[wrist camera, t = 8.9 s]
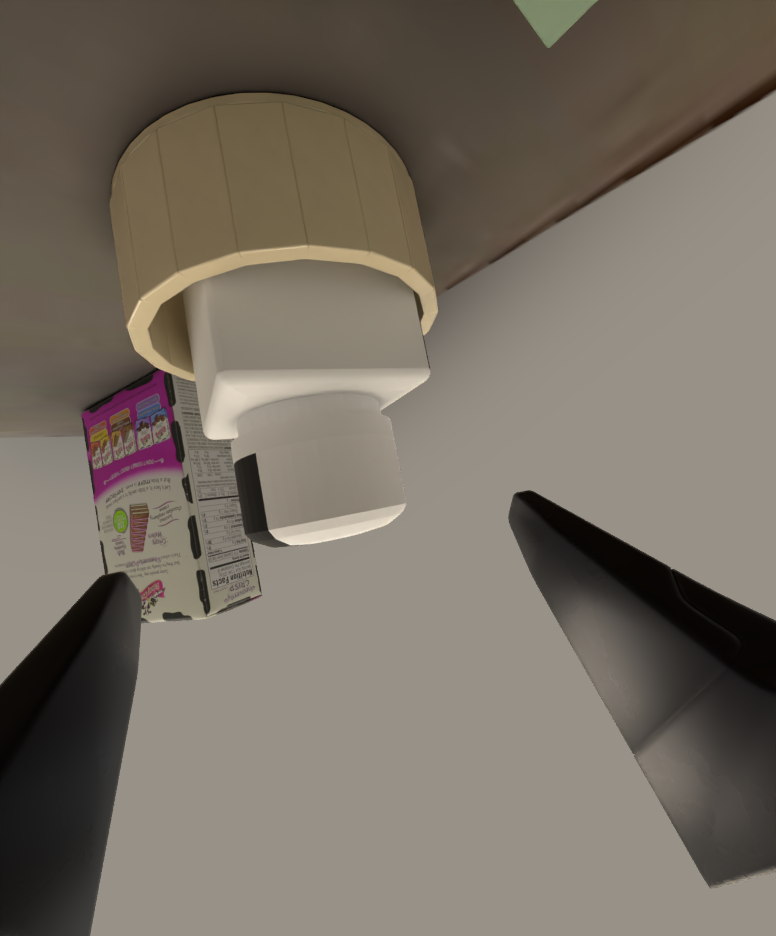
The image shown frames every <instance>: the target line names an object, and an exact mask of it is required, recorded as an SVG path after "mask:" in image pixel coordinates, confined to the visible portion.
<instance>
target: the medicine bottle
mask: <svg viewBox="0 0 776 936" xmlns="http://www.w3.org/2000/svg"><path fill="white" fill-rule="evenodd" d="M182 297H183V303H184V310H185V316H186V323H187V329H188V336H189V343H190V349H191V356H192V362H193V369H194V375H195V382H196V388H197V395H198V401H199V408H200V414H201V421H202V427H203V432H204V434H205V436H206V437H207V438H209V439H212V440H220V439H233V438H235V439H234V440H233V441H232V442H231V451H232V458H233V464H234V470H235V477H236V483H237V489H238V495H239V502H240V508H241V514H242V521H243V527H244V533H245V535H246V536H247V537H248V538H249V539H250V540H252V541H253V542H255V543H259V544H263V545H266V546H270V547H286V546H298V545H307V544H314V543H319V542H325V541H330V540H334V539H339V538H344V537H348V536H352V535H357V534H360V533H363V532H366V531H369V530H373V529H376V528H379V527H382V526H385V525H387V524H388V523H390V522H391V521H392V520H394V519H395V518H396V517H397V516H399V515H400V514H401V513H402V512H403V510H404V508H405V506H406V504H407V502H406V497H405V492H404V486H403V481H402V476H401V471H400V466H399V460H398V455H397V450H396V446H395V440H394V435H393V430H392V425H391V420H390V418H389V417H387V416H385V415H381V410H382V409H384V408H385V407H387V406H388V405H390V404H391V403H393V402H394V401H396V400H397V399H399V398H400V397H402V396H404V395H405V394H406V393H408V392H409V391H411V390H413V389H414V388H416V387H417V386H419V385H420V384H422V383H423V382H425V381H426V380H427V379H428V377H429V376H430V366H429V361H428V356H427V352H426V346H425V342H424V337H423V332H422V327H421V322H420V317H419V312H418V308H417V303H416V298H415V293H414V290H413V289H412V288H410V287H409V286H408V285H407V284H406V283H405V282H403V281H402V280H401V279H400V278H399V277H397V276H394V275H391V274H388V273H385V272H382V271H379V270H377V269H374V268H371V267H368V266H365V265H362V264H354V263H343V262H332V261H321V260H310V259H302V260H293V261H283V262H274V263H265V264H255V265H247V266H244V267H241V268H238V269H234V270H231V271H228V272H225V273H222V274H219V275H216V276H213V277H210V278H206V279H203V280H200V281H197V282H194V283H193V284H191V285H190V286H188V287H187V288H185V289H184V290H182Z"/></svg>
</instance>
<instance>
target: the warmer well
mask: <svg viewBox="0 0 776 936" xmlns="http://www.w3.org/2000/svg"><path fill="white" fill-rule="evenodd" d="M110 214H111V221H112V228H113V235H114V242H115V249H116V257H117V264H118V271H119V278H120V285H121V292H122V300H123V307H124V314H125V321H126V327H127V330H128V333H129V336H130V339H131V341H132V344H133V347H134V349H135V351H136V352H137V353H138V354H140V355H141V356H142V357H143V358H145V359H146V360H147V361H149V362H150V363H151V364H152V365H154V366H155V367H156V368H158V369H160V370H163V371H165V372H168V373H170V374H173V375H176V376H178V377H181V378H183V379H186V380H190V381H195V375H194V369H193V362H192V356H191V349H190V343H189V336H188V329H187V323H186V316H185V310H184V303H183V297H182V290H184V289H185V288H187V287H188V286H190V285H191V284H193V283H194V282H197V281H200V280H203V279H206V278H210V277H213V276H216V275H219V274H222V273H225V272H228V271H231V270H234V269H238V268H241V267H244V266H247V265H255V264H265V263H274V262H283V261H293V260H302V259H310V260H321V261H332V262H343V263H354V264H362V265H365V266H368V267H371V268H374V269H377V270H379V271H382V272H385V273H388V274H391V275H394V276H397V277H399V278H400V279H401V280H402V281H403V282H405V283H406V284H407V285H408V286H409V287H410V288H412V289H413V290H414V293H415V298H416V303H417V308H418V312H419V317H420V322H421V327H422V332H423V336H424V335H425V334H426V333H427V332H428V331H429V330H430V328H431V325H432V323H433V321H434V319H435V317H436V315H437V313H438V303H437V297H436V291H435V286H434V281H433V276H432V272H431V267H430V262H429V257H428V253H427V248H426V243H425V238H424V234H423V229H422V224H421V219H420V215H419V210H418V205H417V201H416V196H415V191H414V186H413V182H412V179H411V178H410V176H409V173H408V171H407V169H406V167H405V164H404V163H403V161H402V160H401V158H400V157H399V155H398V154H397V152H396V151H395V149H394V148H393V147H392V146H391V145H390V144H389V143H388V142H387V141H386V140H385V139H384V138H383V137H382V136H381V135H380V134H379V133H377V132H376V131H375V130H374V129H372V128H371V127H370V126H368V125H367V124H366V123H364V122H363V121H361V120H359V119H357V118H356V117H354V116H352V115H350V114H348V113H347V112H345V111H342V110H340V109H337V108H335V107H332V106H330V105H327V104H325V103H322V102H319V101H315V100H311V99H307V98H303V97H299V96H293V95H285V94H276V93H237V94H230V95H223V96H217V97H211V98H208V99H205V100H201V101H198V102H194V103H191V104H188V105H185V106H183V107H181V108H179V109H177V110H175V111H173V112H170V113H168V114H166V115H164V116H163V117H161V118H160V119H158V120H157V121H155V122H154V123H153V124H151V125H150V126H148V127H147V128H145V129H144V130H143V131H142V132H141V133H140V134H139V135H138V136H137V137H136V138H135V139H134V140H133V141H132V142H131V143H130V145H129V146H128V148H127V149H126V151H125V152H124V154H123V155H122V157H121V159H120V160H119V163H118V165H117V168H116V171H115V173H114V176H113V180H112V187H111V201H110Z"/></svg>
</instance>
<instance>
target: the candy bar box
mask: <svg viewBox="0 0 776 936" xmlns="http://www.w3.org/2000/svg"><path fill="white" fill-rule="evenodd" d="M81 417H82V421H83V428H84V435H85V442H86V448H87V456H88V461H89V467H90V474H91V482H92V488H93V494H94V502H95V509H96V515H97V521H98V530H99V538H100V545H101V551H102V557H103V563H104V569H105V574H110V573H115V572H120V571H123V572H125V573H126V574H127V575H128V576H129V578H130V579H131V581H132V582H133V583H134V585H135V586H136V588H137V589H138V591H139V592H140V595H141V598H142V614H141V623H151V622H165V621H181V620H197V619H206V618H209V617H212V616H214V615H217V614H220V613H223V612H225V611H228V610H231V609H233V608H236V607H238V606H241V605H243V604H245V603H248V602H250V601H252V600H254V599H257V598H259V597H261V596H262V592H261V587H260V582H259V576H258V571H257V566H256V559H255V556H254V549H253V544H252V540H250V539H249V538H248V537H247V536H246V535H245V533H244V527H243V521H242V514H241V508H240V502H239V495H238V489H237V483H236V477H235V470H234V464H233V458H232V451H231V442H232V441H233V440H234V438H233V439H220V440H212V439H209V438H207V437H206V436H205V434H204V432H203V427H202V421H201V414H200V408H199V401H198V395H197V388H196V382H195V381H190V380H186V379H183V378H181V377H178V376H176V375H173V374H170V373H168V372H165V371H163V370H160V369H159V370H158V371H156V372H154V373H152V374H150V375H149V376H147V377H145V378H143V379H141V380H140V381H138V382H136V383H134V384H132V385H131V386H129V387H127V388H126V389H124V390H122V391H120V392H118V393H117V394H115V395H113V396H111V397H110V398H108V399H106V400H105V401H103V402H101V403H99V404H97V405H96V406H94V407H92V408H91V409H89V410H87V411H85V412H84V413H82V414H81Z"/></svg>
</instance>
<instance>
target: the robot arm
mask: <svg viewBox="0 0 776 936" xmlns="http://www.w3.org/2000/svg"><path fill="white" fill-rule="evenodd" d="M508 519H509V523H510V526H511V529H512V531H513V533H514V536H515V538H516V540H517V543H518V545H519V547H520V549H521V552H522V554H523V557H524V559H525V561H526V563H527V565H528V568H529V570H530V572H531V574H532V577H533V578H534V580H535V582H536V584H537V586H538V588H539V589H540V591H541V593H542V595H543V596H544V598H545V600H546V602H547V603H548V605H549V607H550V609H551V611H552V612H553V614H554V616H555V618H556V619H557V621H558V623H559V625H560V626H561V628H562V630H563V632H564V633H565V635H566V637H567V639H568V640H569V642H570V644H571V646H572V647H573V649H574V651H575V653H576V654H577V656H578V658H579V660H580V661H581V663H582V665H583V667H584V669H585V670H586V672H587V674H588V675H589V677H590V679H591V681H592V683H593V684H594V686H595V688H596V690H597V691H598V693H599V695H600V697H601V698H602V700H603V702H604V704H605V705H606V707H607V709H608V710H609V713H610V714H611V716H612V718H613V720H614V721H615V723H616V725H617V727H618V728H619V730H620V732H621V734H622V735H623V737H624V739H625V741H626V742H627V744H628V746H629V748H630V749H631V751H632V753H633V754H635V755H634V757H635V759H636V760H637V762H638V764H639V766H640V768H641V769H642V771H643V773H644V775H645V776H646V778H647V780H648V782H649V783H650V785H651V787H652V788H653V790H654V792H655V794H656V796H657V797H658V799H659V801H660V803H661V804H662V806H663V808H664V810H665V812H666V813H667V815H668V817H669V819H670V820H671V822H672V824H673V826H674V827H675V829H676V831H677V833H678V834H679V836H680V838H681V840H682V841H683V843H684V845H685V847H686V848H687V850H688V852H689V854H690V855H691V857H692V859H693V860H694V862H695V864H696V866H697V868H698V870H699V871H700V873H701V875H702V876H703V878H704V880H705V881H706V883H707V884H708V886H709V887H710V888H711V889H714V888H718V887H721V886H725V885H729V884H733V883H736V882H740V881H744V880H747V879H751V878H754V877H758V876H762V875H766V874H770V873H773V872H776V621H775V620H773V619H771V618H769V617H767V616H765V615H763V614H761V613H758V612H756V611H754V610H752V609H750V608H748V607H746V606H744V605H742V604H740V603H737V602H736V601H734V600H732V599H730V598H728V597H725V596H724V595H721V594H720V593H717V592H715V591H714V590H712V589H710V588H708V587H706V586H704V585H702V584H700V583H698V582H696V581H695V580H693V579H691V578H689V577H687V576H686V575H684V574H682V573H680V572H678V571H677V570H674V569H671V568H670V567H669V566H667V565H665V564H664V563H662V562H660V561H658V560H657V559H655V558H653V557H651V556H649V555H647V554H646V553H644V552H642V551H640V550H638V549H636V548H635V547H633V546H631V545H629V544H628V543H626V542H624V541H622V540H620V539H618V538H617V537H615V536H613V535H611V534H609V533H608V532H606V531H604V530H602V529H600V528H599V527H597V526H595V525H593V524H591V523H590V522H588V521H585V520H584V519H582V518H580V517H578V516H577V515H575V514H573V513H572V512H569V511H568V510H566V509H564V508H562V507H561V506H559V505H557V504H555V503H553V502H552V501H550V500H548V499H546V498H544V497H543V496H541V495H539V494H537V493H535V492H533V491H530V490H527V491H522V492H517V493H515V494H514V495H513V499H512V503H511V507H510V511H509V518H508ZM141 614H142V598H141V595H140V592H139V591H138V589H137V588H136V586H135V585H134V583H133V582H132V581H131V579H130V578H129V576H128V575H127V574H126V573H125V572H123V571H120V572H115V573H110V574H105V575H102V576H101V577H99V578H98V579H97V581H95V582H94V584H93V585H92V586H91V587H90V588H89V589H88V590H87V591H86V592H85V593H84V594H83V595H82V597H81V598H80V599H79V600H78V601H77V602H76V603H75V604H74V605H73V606H72V607H71V609H70V610H69V611H68V612H67V613H66V614H65V615H64V616H63V617H62V618H61V619H60V621H59V622H58V623H57V624H56V625H55V626H54V627H53V628H52V629H51V630H50V632H48V634H47V635H46V636H45V637H44V638H43V639H42V640H41V641H40V642H39V643H38V644H37V646H36V647H35V648H34V649H33V650H32V651H31V652H30V653H29V654H28V655H27V656H26V657H25V659H24V660H23V661H22V662H21V663H20V664H19V665H18V666H17V667H16V668H15V670H13V672H12V673H11V674H10V675H9V676H8V677H7V678H6V679H5V680H4V681H3V682H2V684H1V685H0V936H90V933H91V927H92V921H93V916H94V911H95V905H96V900H97V894H98V888H99V883H100V878H101V872H102V866H103V861H104V856H105V850H106V845H107V839H108V834H109V828H110V823H111V817H112V812H113V806H114V801H115V795H116V790H117V785H118V779H119V773H120V768H121V763H122V757H123V752H124V746H125V740H126V735H127V730H128V724H129V719H130V713H131V708H132V702H133V696H134V691H135V685H136V680H137V673H138V661H139V647H140V629H141Z"/></svg>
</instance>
